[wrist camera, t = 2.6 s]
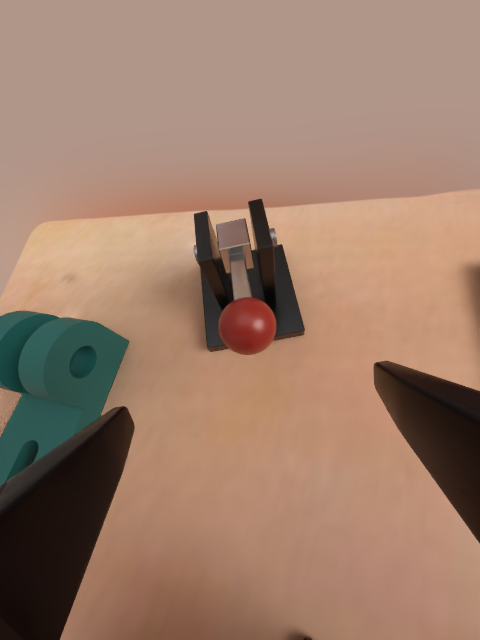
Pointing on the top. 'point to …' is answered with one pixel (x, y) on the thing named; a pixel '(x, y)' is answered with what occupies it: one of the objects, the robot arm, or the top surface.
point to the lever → (242, 295)
